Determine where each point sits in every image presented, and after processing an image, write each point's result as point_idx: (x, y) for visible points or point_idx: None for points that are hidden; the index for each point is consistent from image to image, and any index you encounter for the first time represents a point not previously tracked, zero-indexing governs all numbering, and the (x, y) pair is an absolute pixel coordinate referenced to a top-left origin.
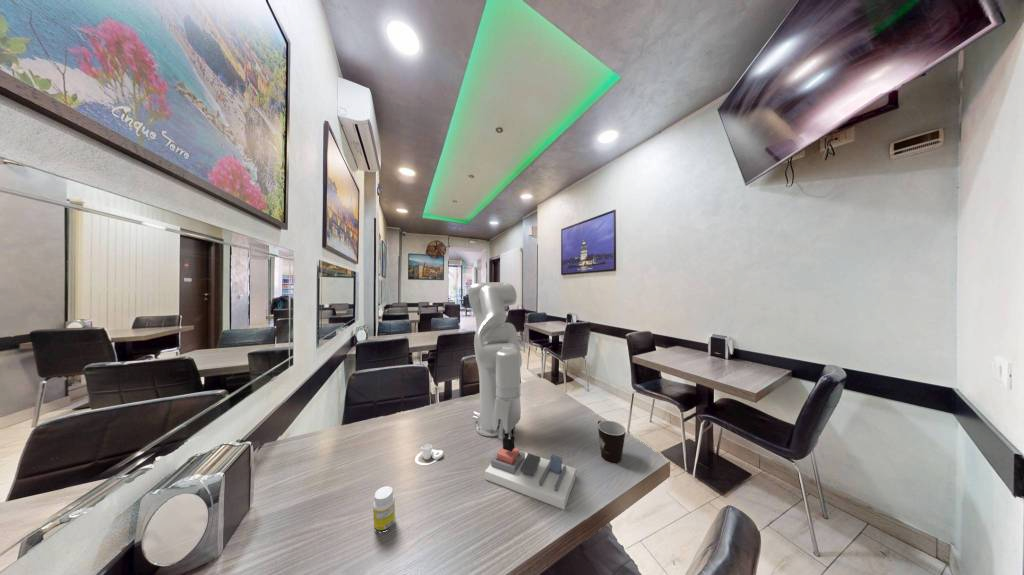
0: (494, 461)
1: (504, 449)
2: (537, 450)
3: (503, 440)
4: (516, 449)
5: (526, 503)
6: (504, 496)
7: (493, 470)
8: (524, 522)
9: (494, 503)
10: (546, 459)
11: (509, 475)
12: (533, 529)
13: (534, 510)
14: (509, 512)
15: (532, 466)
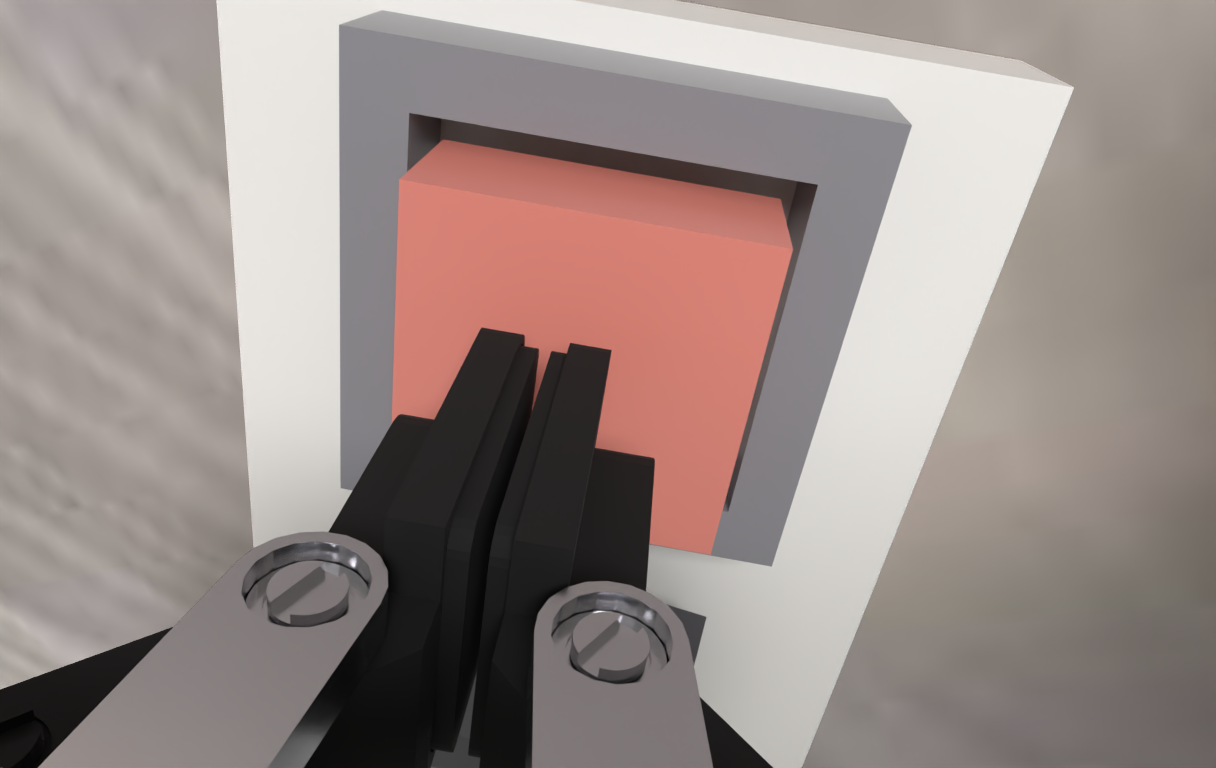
0: (346, 109)
1: (607, 289)
2: (1145, 536)
3: (421, 455)
4: (683, 514)
5: (210, 542)
6: (164, 318)
7: (304, 98)
8: (19, 558)
9: (11, 236)
10: (809, 740)
11: (327, 378)
12: (11, 625)
13: (179, 612)
14: (20, 420)
15: (472, 703)
